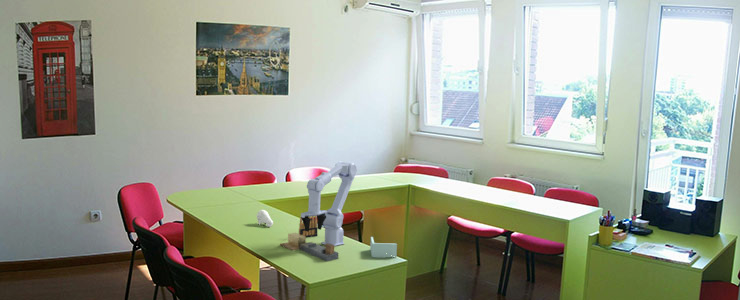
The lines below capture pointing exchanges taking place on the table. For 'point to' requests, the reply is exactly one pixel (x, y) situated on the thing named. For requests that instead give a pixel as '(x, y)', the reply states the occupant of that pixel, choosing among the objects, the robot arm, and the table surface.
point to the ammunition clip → (312, 228)
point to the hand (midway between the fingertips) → (313, 230)
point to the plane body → (320, 251)
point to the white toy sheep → (264, 218)
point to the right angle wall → (383, 249)
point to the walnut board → (289, 246)
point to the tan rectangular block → (296, 239)
